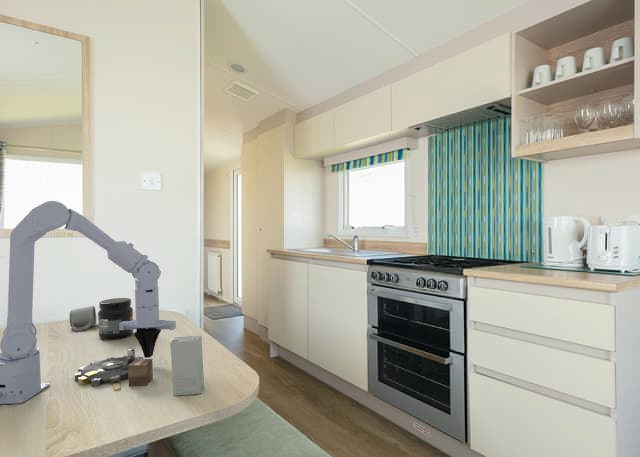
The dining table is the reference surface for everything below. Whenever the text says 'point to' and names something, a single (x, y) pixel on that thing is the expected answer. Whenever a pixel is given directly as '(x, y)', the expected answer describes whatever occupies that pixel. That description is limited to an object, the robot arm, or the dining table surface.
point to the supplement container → (114, 318)
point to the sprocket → (106, 370)
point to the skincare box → (187, 365)
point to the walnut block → (140, 372)
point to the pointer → (116, 386)
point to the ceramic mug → (82, 318)
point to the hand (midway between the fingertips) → (148, 356)
